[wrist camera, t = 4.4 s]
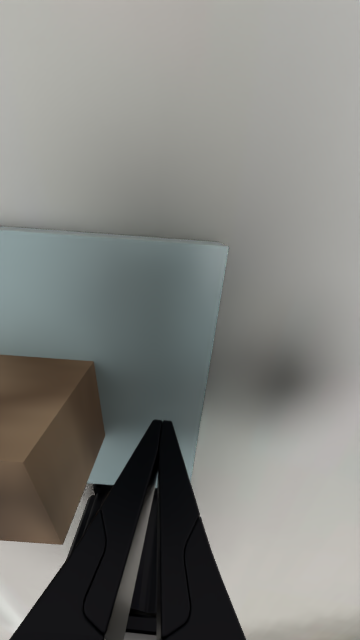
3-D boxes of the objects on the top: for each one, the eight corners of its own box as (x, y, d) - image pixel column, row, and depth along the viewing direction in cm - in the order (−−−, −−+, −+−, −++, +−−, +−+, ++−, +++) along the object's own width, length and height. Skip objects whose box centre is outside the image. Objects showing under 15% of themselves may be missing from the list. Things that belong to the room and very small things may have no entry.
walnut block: (93, 361, 8) (22, 462, 5) (105, 435, 10) (62, 544, 7) (-22, 353, 8) (-182, 448, 5) (13, 429, 10) (-78, 534, 7)
